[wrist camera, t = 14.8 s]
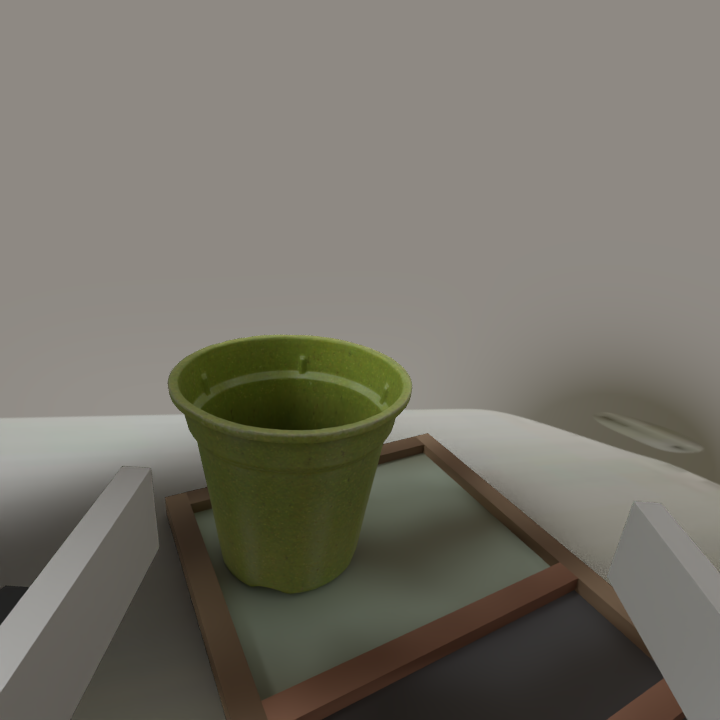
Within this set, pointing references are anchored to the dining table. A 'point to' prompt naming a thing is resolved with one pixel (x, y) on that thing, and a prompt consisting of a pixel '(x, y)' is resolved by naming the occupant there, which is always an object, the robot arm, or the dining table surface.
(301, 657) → the frame
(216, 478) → the plant pot
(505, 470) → the dining table surface
